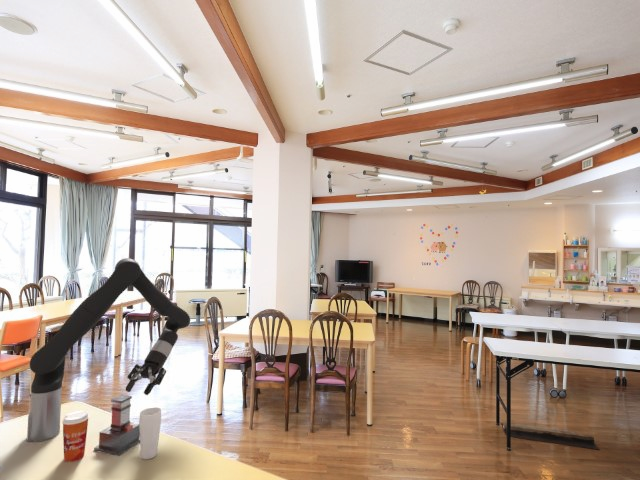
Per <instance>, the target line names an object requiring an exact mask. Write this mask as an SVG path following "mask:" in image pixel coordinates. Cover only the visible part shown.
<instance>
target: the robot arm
mask: <svg viewBox="0 0 640 480" xmlns="http://www.w3.org/2000/svg"><path fill="white" fill-rule="evenodd" d="M130 286H132V287H133V288H134V289H136V290H137V291H138V293H140V295H141V296H142V298H143V299H144V300H145V301H146V302H147V303H148V304H149V306H150V307H151V308H152V309H153V310H154V311H156V312H157V313H158V315H160V316H161V317H167V318H166V319H167V320H166V321H165V323H164V326H163V329H162V332H161V334H160V336H159V337H158V339H157V340H156V342H155V343H154V344H153V346H152V347H151V349H150V351H149V352H148V354H147V355H146V357H145V358H144V361H143V362H144V363H143V365H139V364H138V363H137V364H135V365H134V366H133V368H132V370H131V371H130V372H129V373H128V375H127V376H126V377H127V379H128V380H129V382H128V383H127V385H126V387H125V391H126V392H127V393H131V391H132V389H133V388H134V386H135V385H136V383H137V382H138V381H139V380H140V381H141V380H143V379H148V380H149V383H148V384H147V385H146V388H145V389H144V391H143V394H144V395H145V396H149V394H150V393H151V392H152V390H153V388H154V387H155V386H156V385H158V386H160V385H161V383H162V382H163V379H164V377H165V375H166V373H167V370H166V369H165V367H164V365H165V363H166V361H167V360H168V358H169V356H170V355H171V353H172V350H173V348H174V347H175V344H176V342H177V340H178V339H179V335H178V333H177V332H178V331H179V330H181V329H185V328H187V327H188V326H189V325H190V323H191V317H190V315H189V314H188V312H187V311H186V310H184V309H183V308H181V307H180V306H178V305H177V304H175V303H173V301H171V299H170V298H169V297H167V295H165V293H164V292H163V291H161V290H160V289H159V288H158V286H157V285H155V284H154V283H153V282H152V281H151V280H150V279H149V278H148V277H147V275H146V274H145V273H144V272H143V269H142V268H141V266H140V264H139V262H137V261H136V260H135V259H134V258H133V259H132V258H128V257H127V258H122V259H120V260H118V261H117V263H116V264H115V267H114V270H113V272H112V273H111V275H110V276H109V278H108V279H107V280H106V281H105V282H104V283H103V284H102V285H101V286H100V287H99V288H98V289H96V290H95V291H94V292H93V293H91V294H90V295H89V296H88V297H86V298H85V299H84V300H83V301H81V303H80V304H79V305H78V306H77V307H76V309H75V310H74V311H73V312H72V313H71V315H69V317H68V318H67V319H66V320H65V322H64V323H63V324H62V325H61V326H60V328H59V329H58V331H57V332H56V333H55V335H53V337H51V338H50V339H49V340H48V341H47V342H46V343H45V344H44V345H43V346H42V347H40V348H39V349H38V350H37V351H36V352H35V353H34V354H32V356H31V358H30V360H29V368H30V370H31V372H33V373H34V377H33V380H32V383H31V386H30V402H29V403H30V405H29V406H30V407H29V409H30V410H29V414H28V416H27V435H26V436H27V437H26V442H27V441H28V442H43V441H46V440H49V439H52V438H54V437H56V436H57V435H59V433H60V431H61V413H62V412H61V410H62V390H63V389H62V388H63V381H64V376H65V368H66V367H65V366H66V365H65V364H66V355H67V354H68V352H69V351H70V350H71V349H72V347H73V346H74V345H75V344H76V343H77V342H78V341H79V340H81V339H82V338H83V337H84V336H86V334H87V333H88V332H89V331H90V330H92V328H94V326H96V325H97V323H99V322H100V320H101V319H102V318H103V317H104V315H105V314H107V312H108V310H110V308H111V307H112V306H113V305H114V303H115V302H116V301H117V299H118V298H119V297H120V295H122V294H123V292H124V291H126V290H127V289H128V288H129V287H130Z"/></svg>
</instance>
